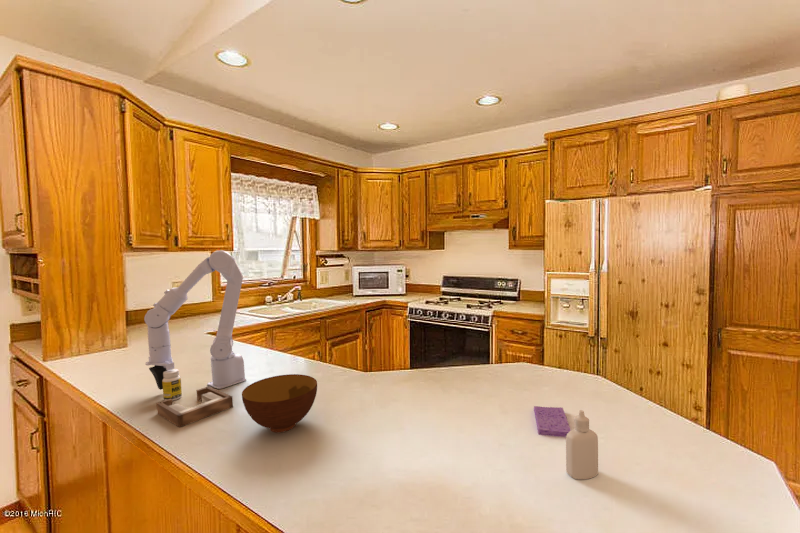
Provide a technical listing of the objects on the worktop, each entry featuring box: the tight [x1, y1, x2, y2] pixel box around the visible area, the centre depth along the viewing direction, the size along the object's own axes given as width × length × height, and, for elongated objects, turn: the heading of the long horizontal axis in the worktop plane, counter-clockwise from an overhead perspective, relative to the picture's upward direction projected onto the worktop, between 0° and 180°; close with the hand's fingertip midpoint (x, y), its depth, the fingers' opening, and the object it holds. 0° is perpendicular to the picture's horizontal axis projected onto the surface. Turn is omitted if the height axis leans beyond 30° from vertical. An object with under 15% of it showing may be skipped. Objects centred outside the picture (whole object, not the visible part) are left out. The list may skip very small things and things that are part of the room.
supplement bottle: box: [162, 368, 183, 402], centre depth 112 cm, size 5×5×8 cm
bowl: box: [241, 373, 318, 433], centre depth 92 cm, size 18×18×10 cm
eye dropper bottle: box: [565, 409, 599, 480], centre depth 68 cm, size 4×6×12 cm
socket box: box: [156, 385, 234, 428], centre depth 103 cm, size 14×14×3 cm
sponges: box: [533, 405, 572, 438], centre depth 88 cm, size 7×13×2 cm, turn 165°
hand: (163, 388), depth 116 cm, fingers closed
